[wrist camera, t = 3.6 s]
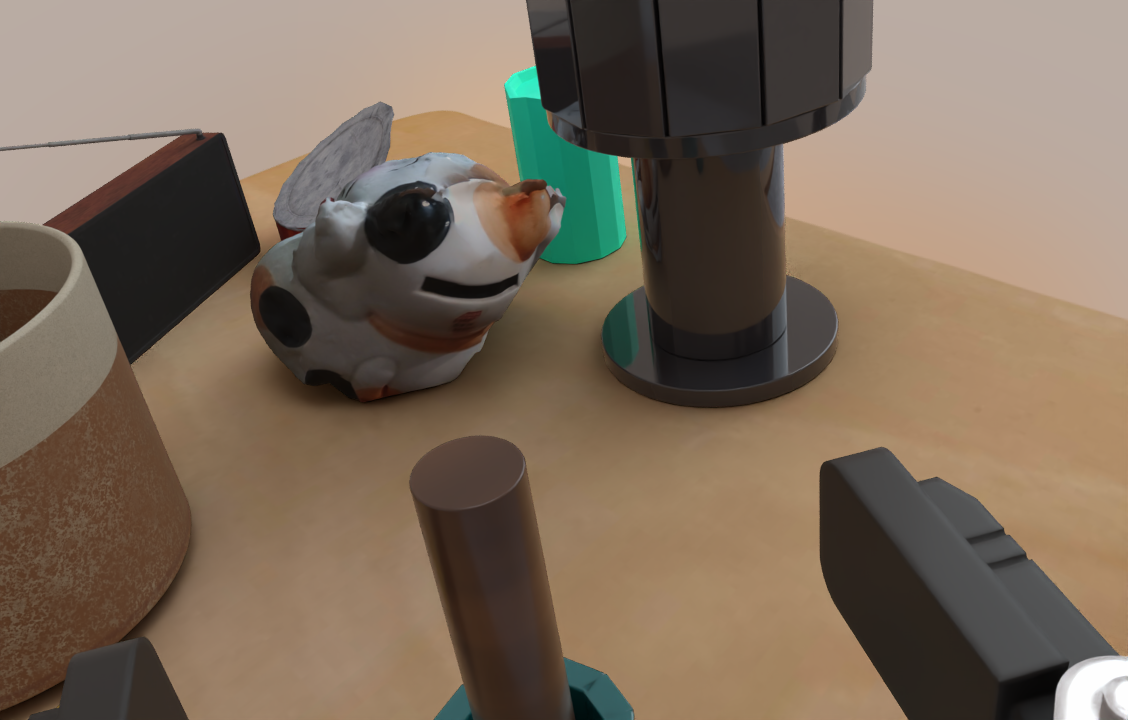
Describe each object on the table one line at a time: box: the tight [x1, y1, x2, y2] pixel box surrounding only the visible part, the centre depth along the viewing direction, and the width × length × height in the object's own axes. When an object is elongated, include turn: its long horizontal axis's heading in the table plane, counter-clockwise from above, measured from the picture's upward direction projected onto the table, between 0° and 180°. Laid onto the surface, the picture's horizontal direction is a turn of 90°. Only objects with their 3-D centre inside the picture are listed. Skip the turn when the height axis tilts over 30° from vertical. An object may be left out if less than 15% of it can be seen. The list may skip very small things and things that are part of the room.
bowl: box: [526, 0, 873, 407], centre depth 50 cm, size 14×14×20 cm
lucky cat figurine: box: [250, 152, 566, 402], centre depth 55 cm, size 15×12×14 cm
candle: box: [504, 66, 626, 264], centre depth 63 cm, size 6×6×12 cm
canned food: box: [273, 102, 394, 241], centre depth 70 cm, size 11×10×10 cm
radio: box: [0, 129, 260, 364], centre depth 61 cm, size 19×3×15 cm, turn 161°
